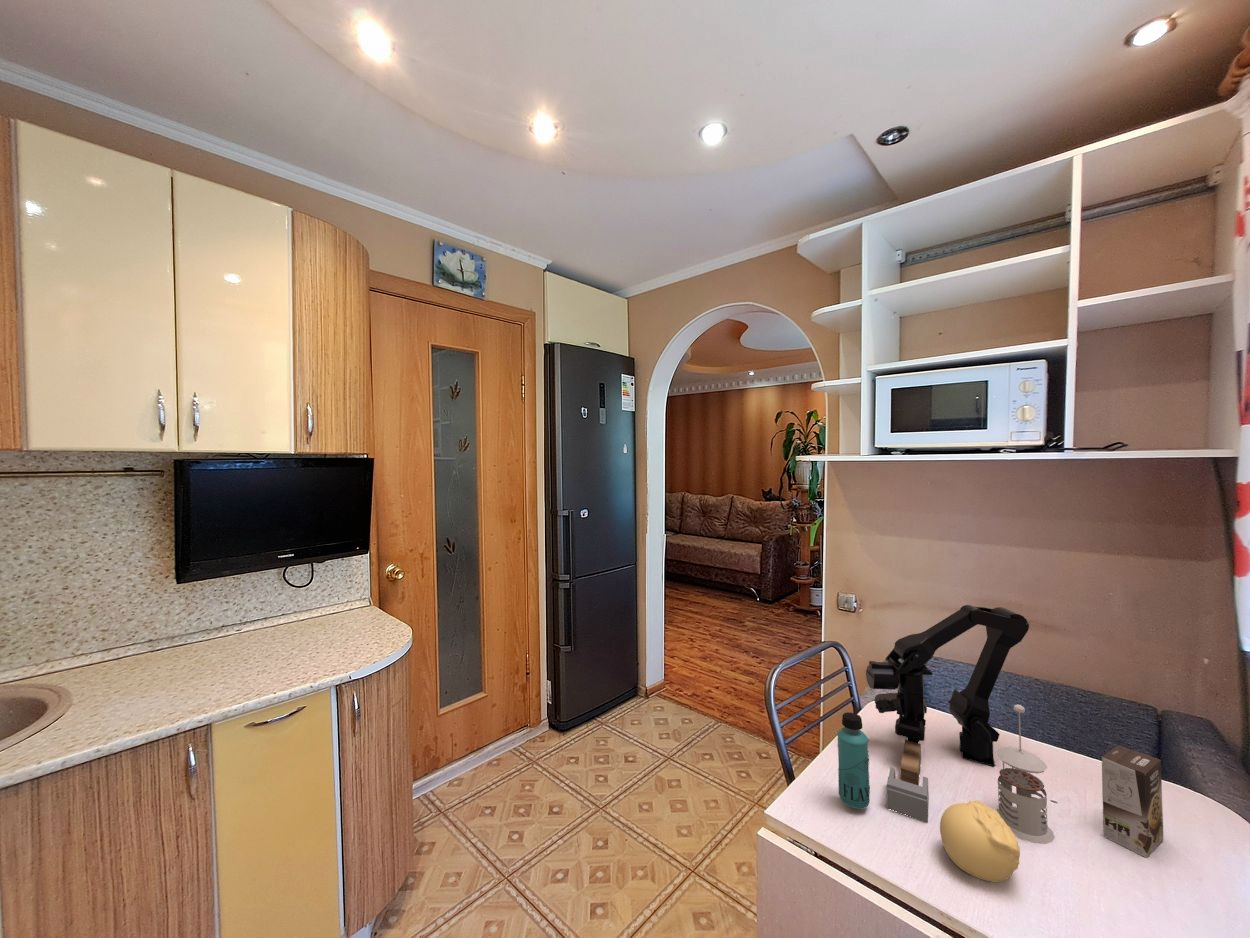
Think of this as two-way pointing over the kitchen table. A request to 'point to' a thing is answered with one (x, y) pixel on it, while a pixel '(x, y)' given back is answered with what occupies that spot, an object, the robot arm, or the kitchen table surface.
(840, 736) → the beverage bottle
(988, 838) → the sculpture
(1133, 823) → the coffee box
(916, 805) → the endcap
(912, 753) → the slat
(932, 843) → the kitchen table surface
